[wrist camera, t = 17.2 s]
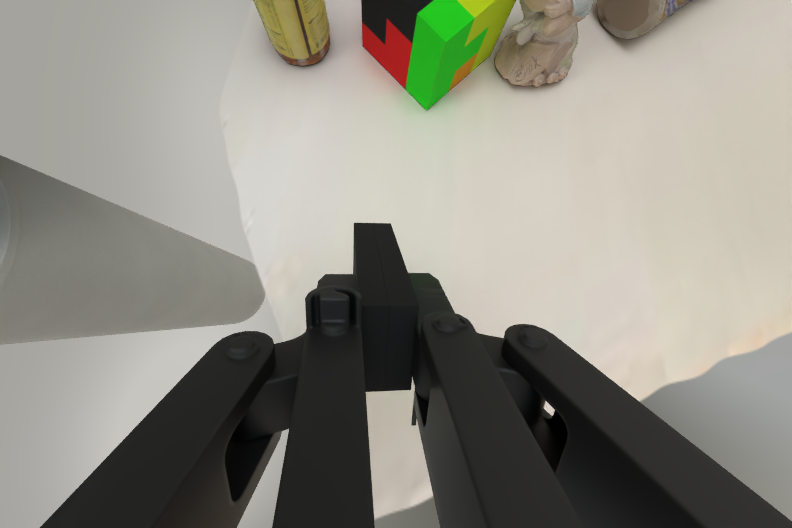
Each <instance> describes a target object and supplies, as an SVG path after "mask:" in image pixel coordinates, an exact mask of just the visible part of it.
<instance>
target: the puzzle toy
mask: <svg viewBox="0 0 792 528" xmlns="http://www.w3.org/2000/svg"><path fill="white" fill-rule="evenodd" d="M361 1H362V39H363V47H364V48H365V49H366V50H367V51H368V52H369V53H370V54H371V55H372V56H373V57H374V58H375V59H376V60H377V61H378V62H379V63H380V64H381V65H382V66H383V67H384V68H385V69H386V70H387V71H388V72H389V73H390V74H391V75H392V76H393V77H394V78H395V79H396V80H397V81H398V82H399V83H400V84H401V85H402V86H403V87H404V88H405V89H406V90H407V91H408V92H409V93H410V94H411V95H412V96H413V97H414V98H415V99H416V100H417V101H418V102H419V103H420V104H421V105H422V106H423V107H424V108H425V109H426V111H427V110H428V109H429V108H430V107H431V106H433V105H434V104H435V103H436V102H437V101H438V100H439V99H441V98H442V97H443V96H444V95H445V94H446V93H447V92H449V91H450V90H451V89H452V88H453V87H454V86H455V85H457V84H458V83H459V82H460V81H461V80H462V79H463V78H465V77H466V76H467V75H468V74H469V73H470V72H471V71H473V70H474V69H475V68H476V67H477V66H478V65H479V64H481V63H482V62H483V61H484V60H485V59H486V58H487V57H489V56H490V55H491V52H492V50H493V48H494V46H495V44H496V42H497V40H498V38H499V35H500V33H501V31H502V29H503V27H504V25H505V23H506V21H507V18H508V16H509V14H510V12H511V10H512V8H513V6H514V3H515V1H516V0H361Z"/></svg>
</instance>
